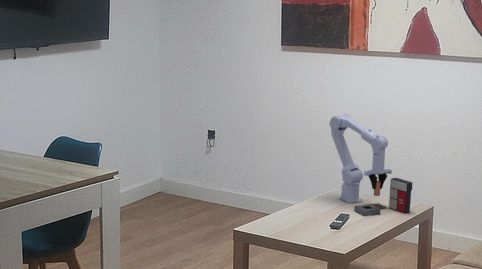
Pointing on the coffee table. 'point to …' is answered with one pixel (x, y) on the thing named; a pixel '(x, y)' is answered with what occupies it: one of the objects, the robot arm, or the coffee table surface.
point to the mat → (379, 206)
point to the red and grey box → (400, 195)
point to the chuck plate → (367, 210)
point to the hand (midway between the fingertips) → (377, 188)
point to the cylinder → (377, 189)
